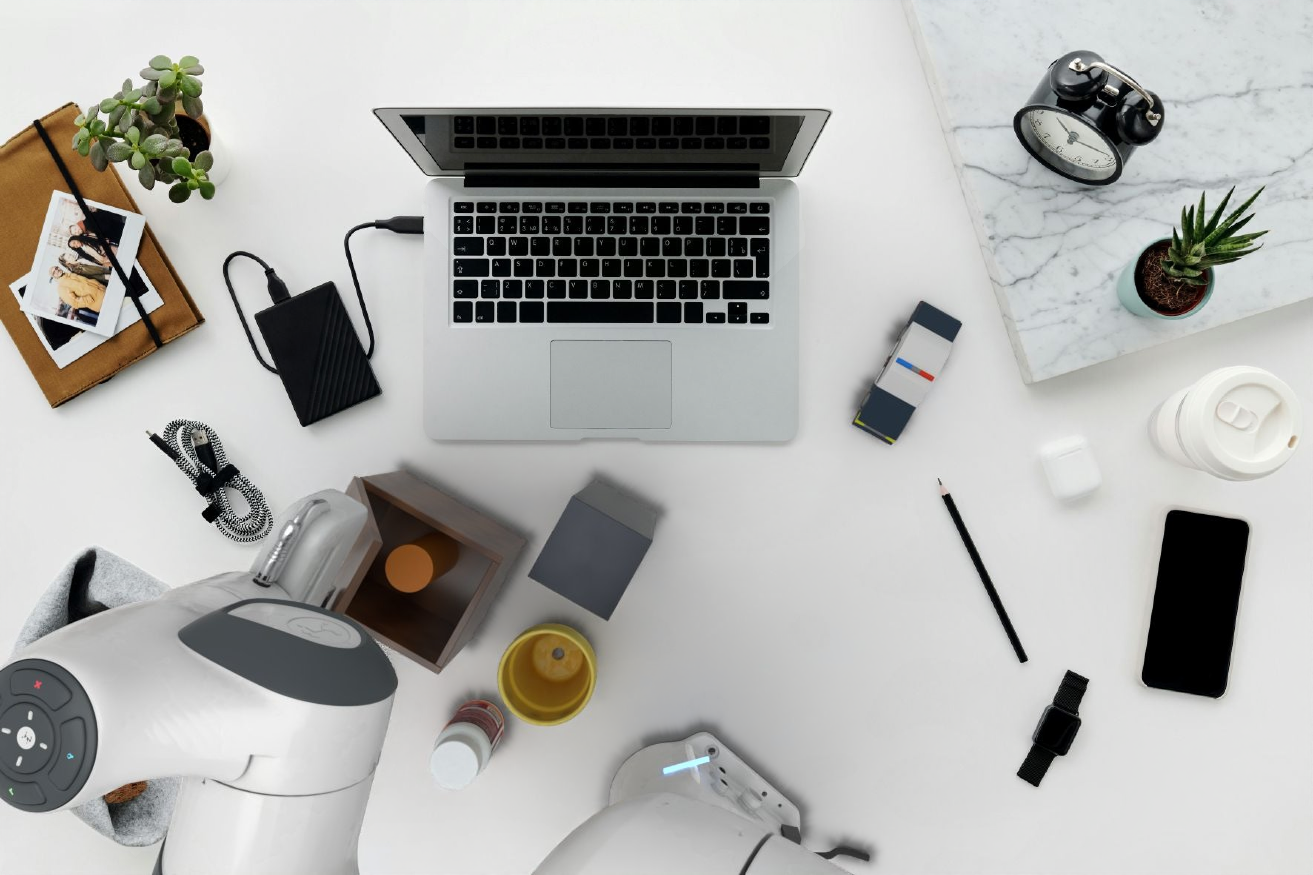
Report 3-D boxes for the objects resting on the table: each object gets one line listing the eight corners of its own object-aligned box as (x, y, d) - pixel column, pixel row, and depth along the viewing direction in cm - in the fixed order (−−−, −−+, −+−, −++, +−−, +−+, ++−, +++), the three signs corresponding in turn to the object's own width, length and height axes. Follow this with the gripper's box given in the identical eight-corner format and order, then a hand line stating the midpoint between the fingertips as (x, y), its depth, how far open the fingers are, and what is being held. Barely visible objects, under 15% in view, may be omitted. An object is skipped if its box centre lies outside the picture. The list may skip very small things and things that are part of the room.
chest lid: (383, 543, 63) (374, 539, 63) (302, 689, 63) (292, 686, 63) (361, 478, 78) (354, 475, 78) (296, 596, 78) (288, 593, 78)
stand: (656, 512, 91) (652, 541, 67) (623, 571, 91) (607, 621, 67) (597, 478, 91) (572, 495, 67) (563, 538, 92) (527, 576, 68)
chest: (527, 539, 92) (503, 557, 78) (471, 639, 92) (437, 675, 78) (404, 470, 92) (359, 476, 78) (348, 570, 92) (294, 594, 79)
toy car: (848, 424, 91) (859, 423, 86) (916, 303, 91) (930, 295, 86) (887, 445, 91) (899, 446, 86) (954, 324, 91) (971, 317, 86)
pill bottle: (453, 697, 92) (423, 735, 81) (505, 698, 92) (483, 735, 80) (453, 749, 92) (423, 794, 81) (505, 750, 92) (482, 795, 81)
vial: (466, 545, 91) (441, 559, 81) (445, 582, 91) (418, 601, 81) (429, 524, 91) (399, 535, 81) (408, 561, 91) (376, 577, 81)
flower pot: (528, 597, 92) (511, 617, 82) (612, 621, 92) (606, 644, 82) (504, 682, 92) (485, 712, 82) (589, 706, 92) (579, 739, 82)
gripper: (259, 480, 51) (347, 469, 65) (111, 752, 51) (229, 684, 65) (343, 527, 51) (413, 506, 65) (194, 799, 51) (295, 721, 65)
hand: (320, 597), depth 65 cm, fingers closed
